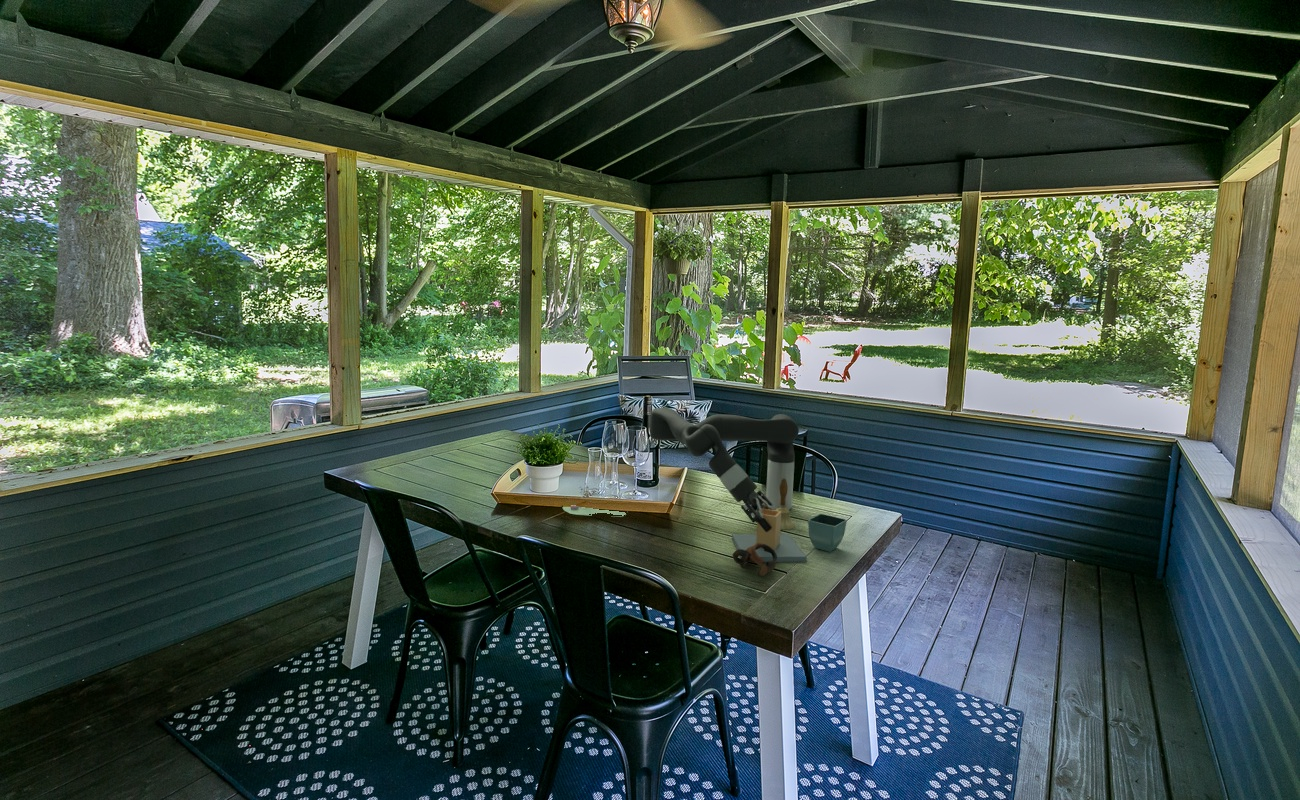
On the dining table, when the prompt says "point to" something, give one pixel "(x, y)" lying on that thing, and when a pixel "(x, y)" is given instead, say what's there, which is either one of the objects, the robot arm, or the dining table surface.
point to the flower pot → (826, 531)
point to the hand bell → (784, 508)
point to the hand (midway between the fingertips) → (773, 525)
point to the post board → (784, 550)
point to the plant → (588, 509)
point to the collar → (772, 535)
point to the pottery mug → (756, 557)
